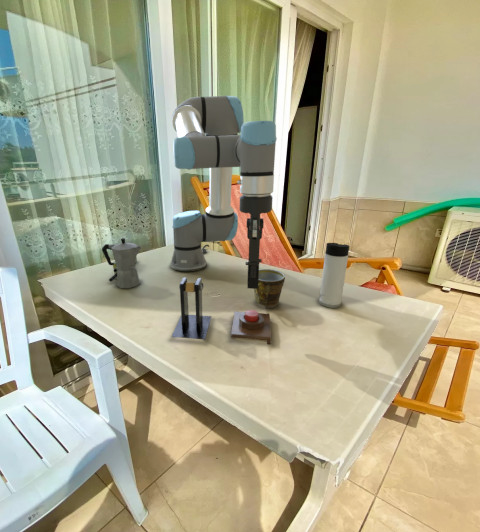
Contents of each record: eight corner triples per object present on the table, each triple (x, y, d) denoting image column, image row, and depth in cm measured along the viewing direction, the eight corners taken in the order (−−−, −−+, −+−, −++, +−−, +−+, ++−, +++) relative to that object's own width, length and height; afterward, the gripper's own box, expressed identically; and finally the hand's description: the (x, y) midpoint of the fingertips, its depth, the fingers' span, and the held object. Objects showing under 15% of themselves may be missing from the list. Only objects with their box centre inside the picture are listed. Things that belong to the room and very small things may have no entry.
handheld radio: (138, 261, 140) (115, 283, 117) (131, 261, 141) (107, 283, 118) (136, 247, 138) (112, 267, 115) (129, 248, 138) (104, 267, 115)
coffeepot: (148, 279, 120) (144, 235, 113) (140, 289, 111) (135, 242, 105) (112, 278, 122) (106, 234, 116) (101, 287, 114) (94, 241, 107)
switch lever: (193, 291, 92) (193, 280, 92) (204, 292, 91) (204, 280, 91) (183, 293, 79) (183, 280, 79) (196, 294, 78) (196, 281, 78)
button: (245, 315, 84) (245, 309, 83) (258, 315, 83) (258, 310, 83) (244, 321, 81) (244, 316, 80) (258, 322, 80) (258, 316, 79)
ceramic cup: (258, 294, 104) (259, 267, 100) (287, 301, 98) (289, 272, 95) (241, 310, 94) (242, 280, 91) (272, 318, 89) (274, 287, 85)
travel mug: (315, 304, 96) (322, 243, 89) (323, 297, 100) (331, 238, 93) (336, 310, 92) (345, 247, 85) (343, 302, 96) (353, 242, 89)
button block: (234, 317, 90) (234, 305, 88) (269, 320, 88) (269, 308, 86) (231, 341, 79) (231, 328, 77) (270, 344, 77) (271, 331, 75)
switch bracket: (181, 317, 91) (179, 271, 86) (211, 319, 89) (211, 273, 84) (171, 340, 80) (167, 289, 75) (205, 343, 78) (203, 291, 73)
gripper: (241, 191, 77) (239, 277, 85) (238, 198, 65) (236, 297, 73) (271, 191, 76) (266, 278, 84) (274, 198, 64) (268, 299, 72)
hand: (252, 287), depth 78 cm, fingers closed
